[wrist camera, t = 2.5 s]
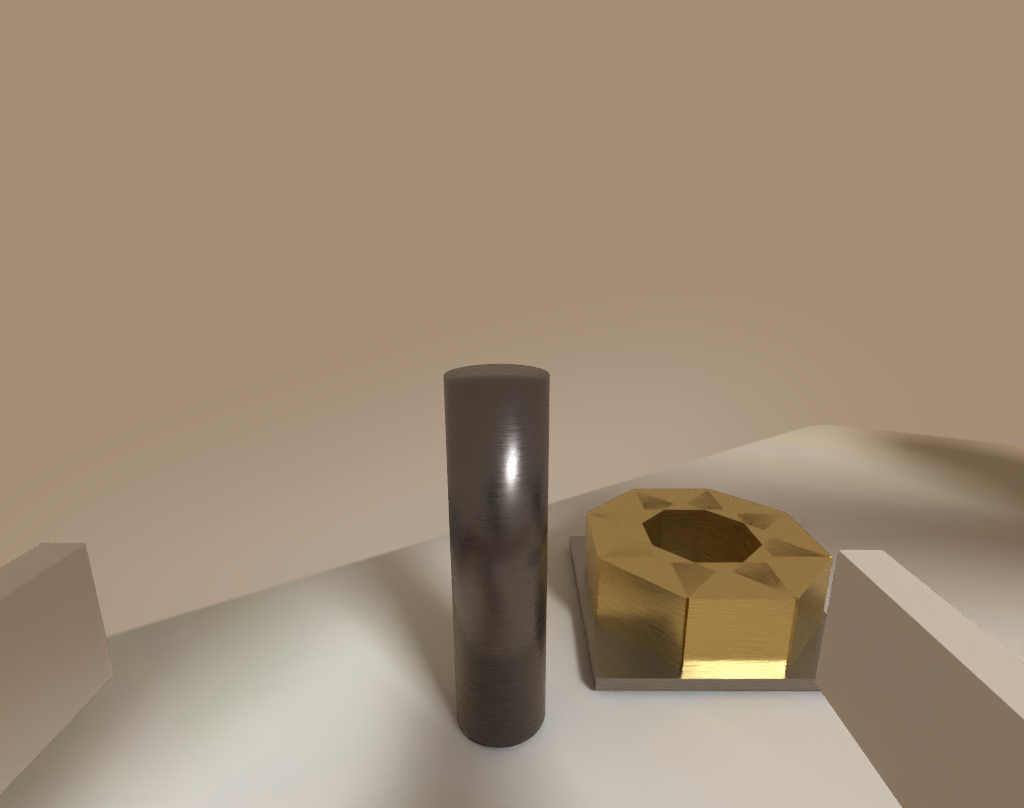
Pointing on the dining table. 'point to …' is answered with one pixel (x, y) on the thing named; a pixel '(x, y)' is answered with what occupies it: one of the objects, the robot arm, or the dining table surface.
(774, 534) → the ring nut
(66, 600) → the robot arm
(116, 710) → the dining table surface
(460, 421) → the steel pin
